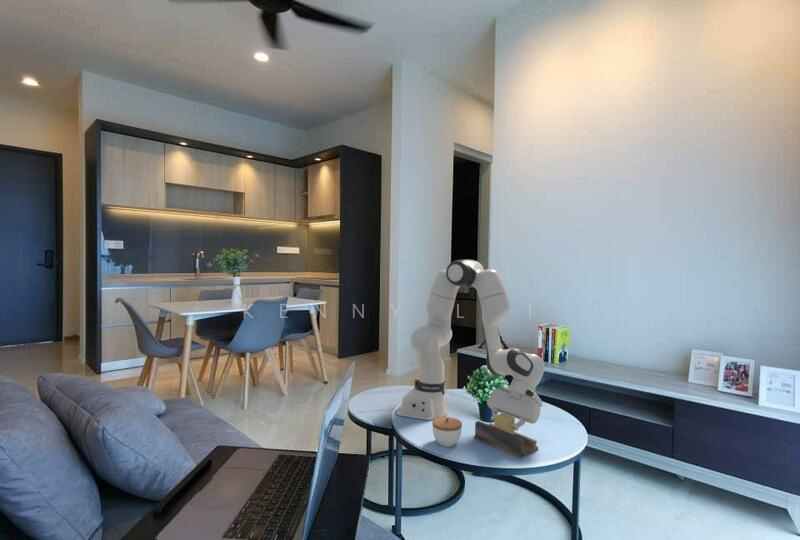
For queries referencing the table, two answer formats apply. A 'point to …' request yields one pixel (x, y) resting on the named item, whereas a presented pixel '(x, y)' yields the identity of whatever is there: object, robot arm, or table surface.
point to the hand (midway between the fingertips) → (503, 425)
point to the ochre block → (504, 423)
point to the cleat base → (504, 440)
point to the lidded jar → (447, 430)
